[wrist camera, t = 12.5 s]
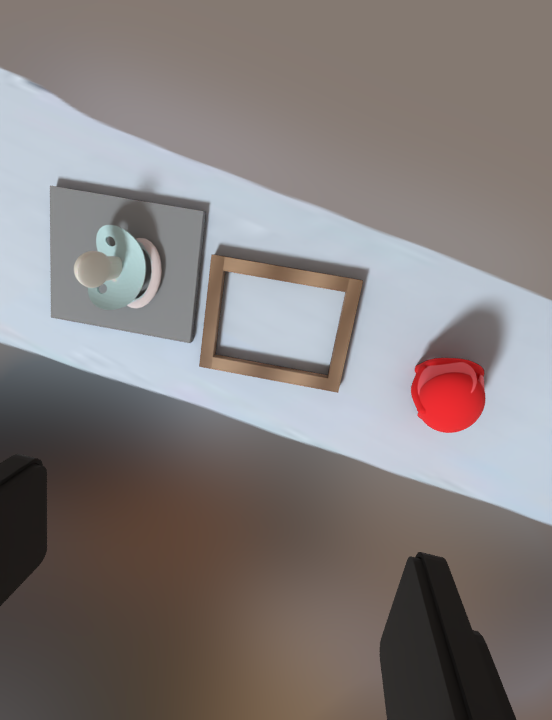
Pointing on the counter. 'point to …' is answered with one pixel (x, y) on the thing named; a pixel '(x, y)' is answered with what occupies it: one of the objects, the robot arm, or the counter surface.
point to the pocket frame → (288, 275)
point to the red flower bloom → (448, 393)
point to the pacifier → (118, 269)
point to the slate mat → (170, 237)
